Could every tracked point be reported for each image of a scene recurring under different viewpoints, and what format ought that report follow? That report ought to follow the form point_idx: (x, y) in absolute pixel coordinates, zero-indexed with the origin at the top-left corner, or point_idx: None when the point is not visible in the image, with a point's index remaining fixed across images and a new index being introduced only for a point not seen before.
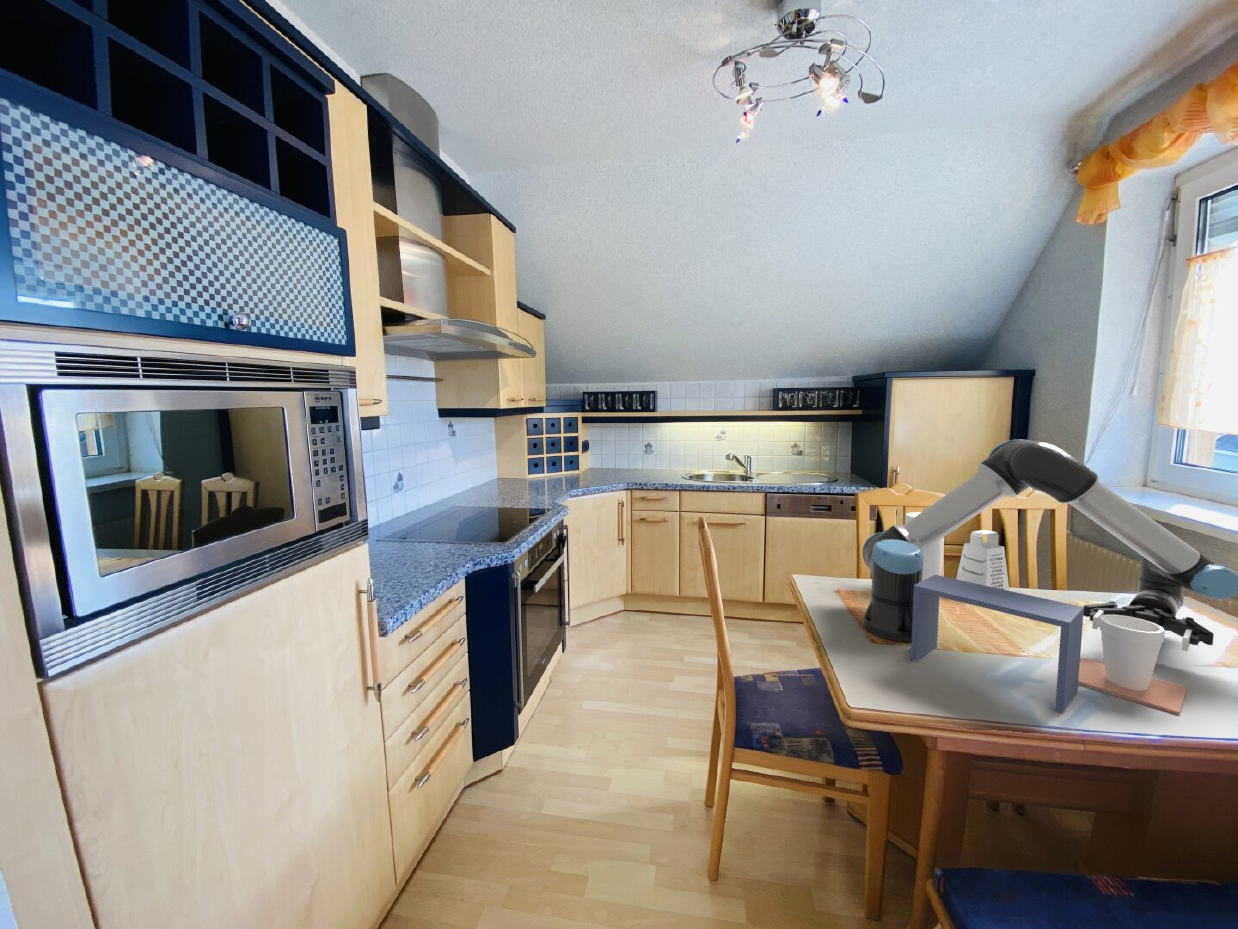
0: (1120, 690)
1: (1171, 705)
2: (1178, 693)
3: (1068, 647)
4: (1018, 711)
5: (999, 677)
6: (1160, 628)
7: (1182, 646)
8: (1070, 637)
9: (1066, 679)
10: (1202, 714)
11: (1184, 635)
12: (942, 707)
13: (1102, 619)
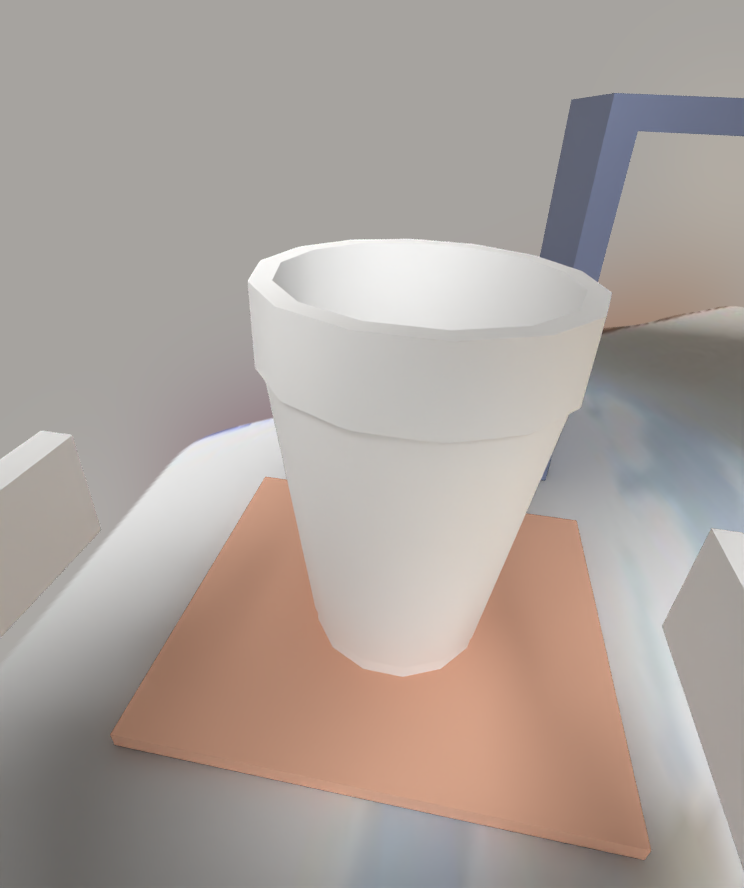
0: None
1: (274, 503)
2: (202, 616)
3: (552, 196)
4: None
5: (711, 453)
6: (271, 270)
7: (89, 505)
8: (561, 168)
9: None
10: (185, 526)
11: (11, 475)
12: (667, 335)
13: (575, 270)
